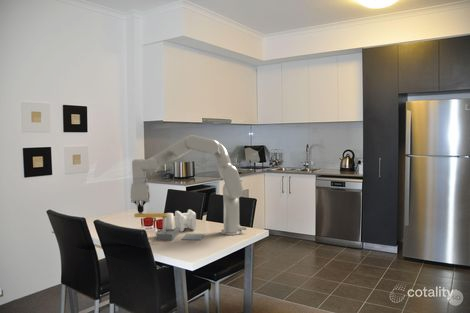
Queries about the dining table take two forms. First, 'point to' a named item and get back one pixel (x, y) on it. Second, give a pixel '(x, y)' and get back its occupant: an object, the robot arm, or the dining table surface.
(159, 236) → the grey stand
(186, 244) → the dining table surface
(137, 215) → the clip
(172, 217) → the plug
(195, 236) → the mat
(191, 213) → the cable organizer
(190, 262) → the dining table surface
